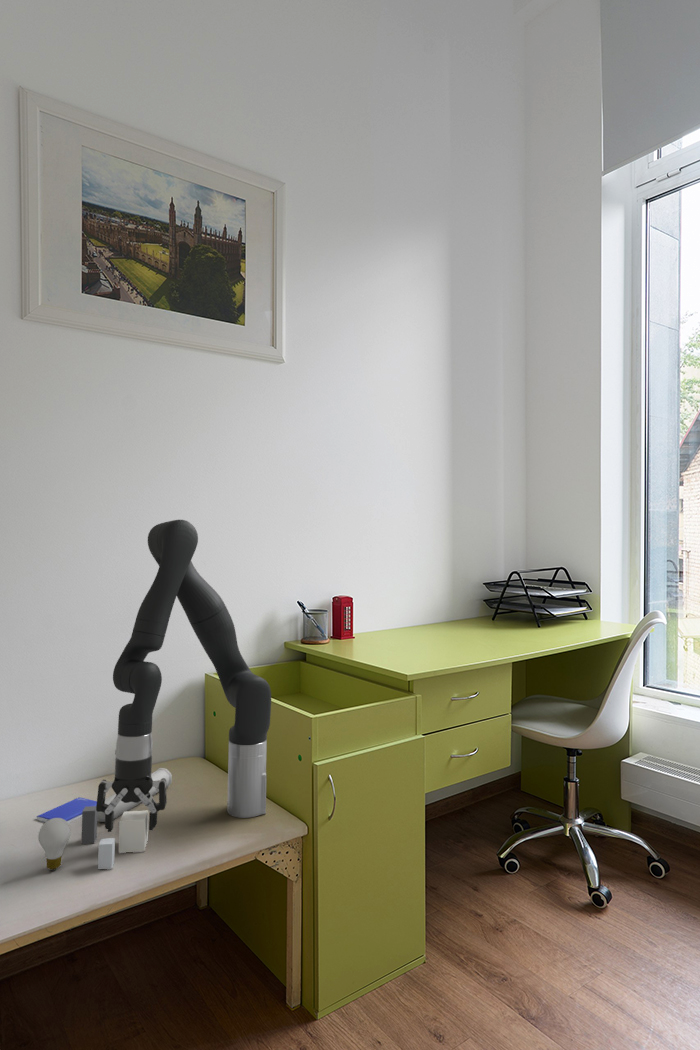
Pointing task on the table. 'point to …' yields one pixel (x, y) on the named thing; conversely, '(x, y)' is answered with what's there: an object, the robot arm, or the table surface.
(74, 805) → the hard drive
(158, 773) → the tube
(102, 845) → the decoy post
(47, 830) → the light bulb
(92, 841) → the post
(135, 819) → the off-white rectangular block
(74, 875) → the table surface
